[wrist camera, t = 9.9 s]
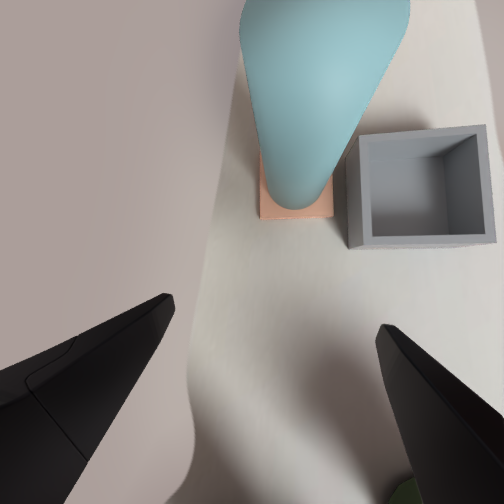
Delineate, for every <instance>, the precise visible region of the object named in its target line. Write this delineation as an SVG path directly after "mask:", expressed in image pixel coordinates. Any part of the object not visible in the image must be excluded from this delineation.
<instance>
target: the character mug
mask: <svg viewBox="0 0 504 504" xmlns="http://www.w3.org/2000/svg"><path fill="white" fill-rule="evenodd" d="M388 504H423V502H422V499H421V496H420V493H419V490H418V486H417V483H416V480H415V477H413V478H411V479H409V480H407V481H406V482H404V483H402V484H400V485H398V487H397V489H396V490H395V492H394V493H393V495H392V496H391V498H390V500H389V501H388Z"/></svg>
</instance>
